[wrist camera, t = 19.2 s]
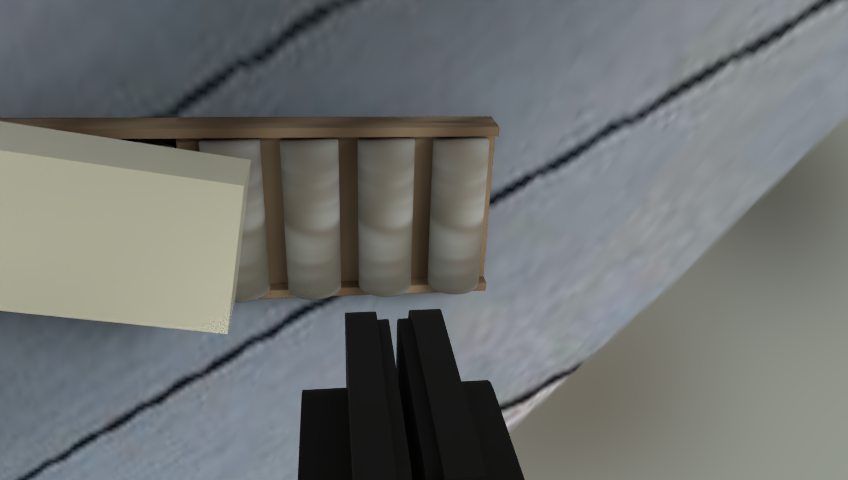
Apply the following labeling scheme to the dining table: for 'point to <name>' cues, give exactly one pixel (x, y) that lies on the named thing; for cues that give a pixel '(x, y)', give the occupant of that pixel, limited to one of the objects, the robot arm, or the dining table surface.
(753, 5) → the dining table surface
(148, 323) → the slab
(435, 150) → the track
